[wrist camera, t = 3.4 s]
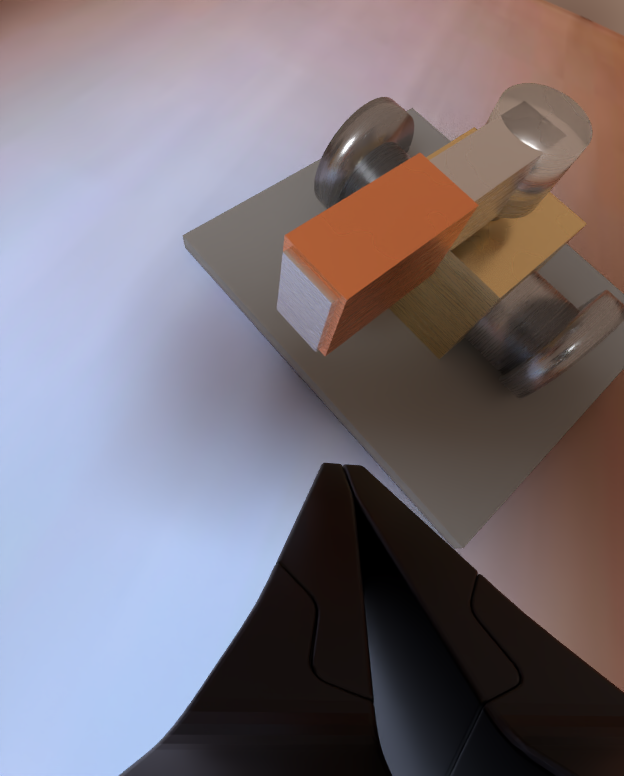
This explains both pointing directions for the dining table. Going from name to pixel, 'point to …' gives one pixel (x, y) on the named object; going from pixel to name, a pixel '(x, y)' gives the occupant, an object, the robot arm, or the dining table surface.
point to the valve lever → (424, 214)
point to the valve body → (478, 267)
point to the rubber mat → (412, 366)
